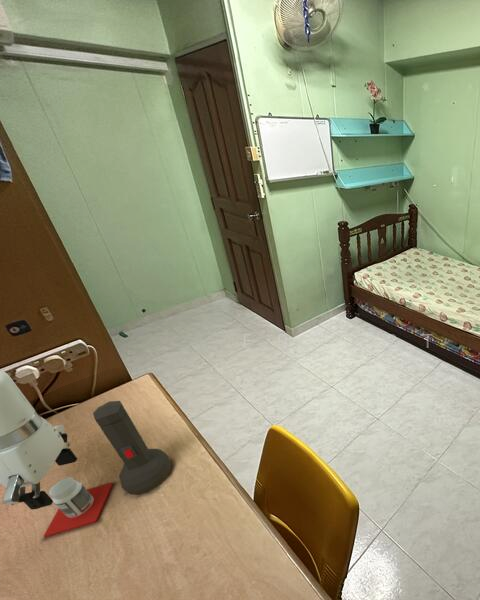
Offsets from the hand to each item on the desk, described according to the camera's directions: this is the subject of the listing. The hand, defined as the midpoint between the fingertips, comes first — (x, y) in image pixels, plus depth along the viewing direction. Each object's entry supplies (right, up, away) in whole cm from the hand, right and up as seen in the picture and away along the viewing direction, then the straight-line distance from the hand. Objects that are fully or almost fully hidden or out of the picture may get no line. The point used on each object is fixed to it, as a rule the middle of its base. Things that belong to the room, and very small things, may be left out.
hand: (56, 482), depth 67 cm
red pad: (0, -9, +5) cm, 10 cm away
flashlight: (+10, -5, +12) cm, 17 cm away
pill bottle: (0, -8, +5) cm, 10 cm away
